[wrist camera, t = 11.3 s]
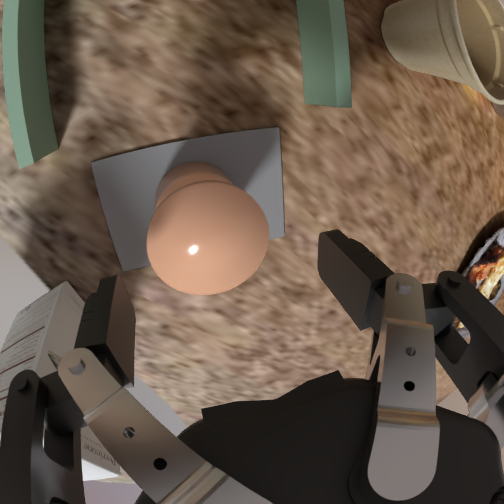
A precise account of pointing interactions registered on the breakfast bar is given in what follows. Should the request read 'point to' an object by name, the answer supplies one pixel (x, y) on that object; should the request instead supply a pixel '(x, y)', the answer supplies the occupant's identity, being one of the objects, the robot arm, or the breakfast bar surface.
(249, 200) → the tan round knob
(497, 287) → the food plate
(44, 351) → the supplement box
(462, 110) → the breakfast bar surface
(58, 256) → the breakfast bar surface
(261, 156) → the slate mat
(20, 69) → the green u-shaped frame
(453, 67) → the flower pot
